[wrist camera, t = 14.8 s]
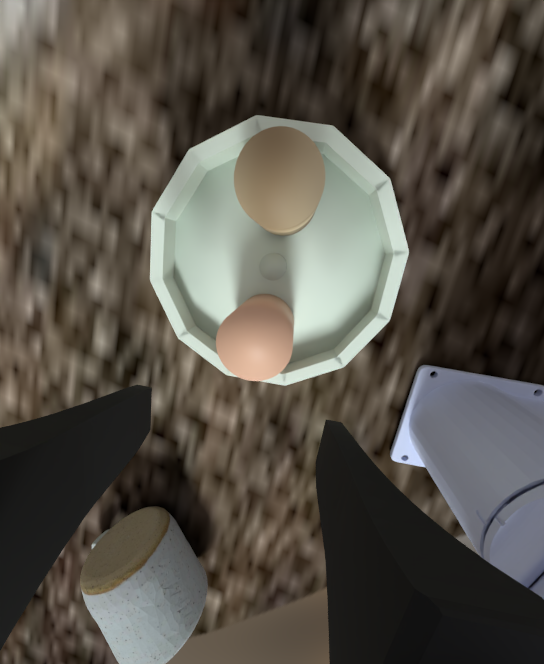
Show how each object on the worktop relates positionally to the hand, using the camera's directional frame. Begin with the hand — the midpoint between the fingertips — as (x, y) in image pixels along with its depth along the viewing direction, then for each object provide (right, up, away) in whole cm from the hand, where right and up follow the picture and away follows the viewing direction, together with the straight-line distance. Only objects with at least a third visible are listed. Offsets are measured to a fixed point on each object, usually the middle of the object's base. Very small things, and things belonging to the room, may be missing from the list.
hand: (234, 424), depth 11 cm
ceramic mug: (-10, -16, +15) cm, 24 cm away
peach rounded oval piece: (+1, +4, +8) cm, 9 cm away
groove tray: (+2, +8, +7) cm, 11 cm away
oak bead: (+2, +12, +6) cm, 13 cm away
